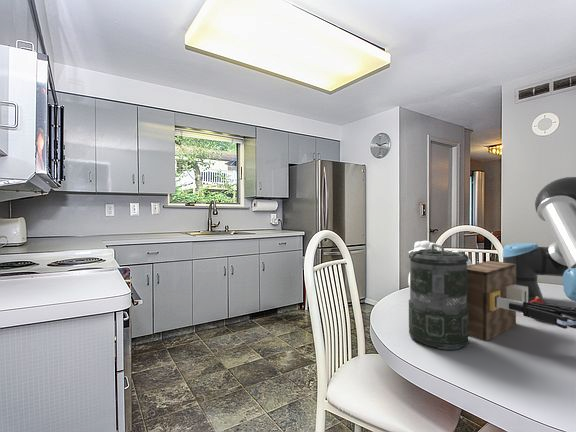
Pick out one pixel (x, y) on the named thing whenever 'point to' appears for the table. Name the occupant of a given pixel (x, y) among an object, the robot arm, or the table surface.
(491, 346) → the table surface
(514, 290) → the button one
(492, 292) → the button two
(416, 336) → the canister
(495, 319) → the console
